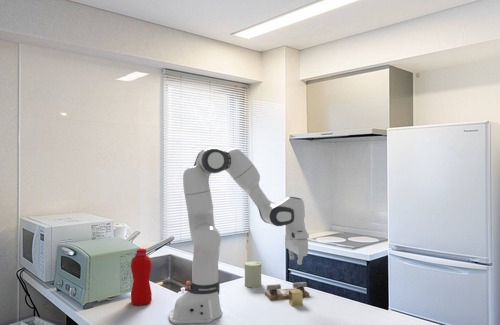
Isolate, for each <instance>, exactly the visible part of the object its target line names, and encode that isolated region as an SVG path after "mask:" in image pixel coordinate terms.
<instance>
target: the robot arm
mask: <svg viewBox="0 0 500 325" xmlns="http://www.w3.org/2000/svg"><path fill="white" fill-rule="evenodd" d="M193 164H194V165H193V166H190V167H188V168H186V169H185V170H184V172H183V175H182V182H183V183H182V184H183V193H184V198H185V199H184V200H185V204H186V210H187V217H188V218H187V219H188V225H189V226H188V227H189V232H190V238H191V240H192V242H193V256H192V265H191V266H192V269H191V270H192V273H191V274H192V275H191V277H192V279H191V280H192V281H190V280H187V281H186V282H185V286H186V287H187V290H186V292H185V293H183V294H182V295H181V296H179V297H178V298H177V299H176V301H175V304H174V308H173V309H171V310H170V311H169V313H168V319H169V321H170V322H171V324H172V323H173V324H175V325H176V324H177V325H178V324H183V325H185V324H209V323H212V322H213V321H214V320H216V319H219V318H220V317H221V316H222V314H223V311H222V307H221V303H220V291H221V290H220V289H221V288H220V284H221V283H220V281H219V260H220V250H221V242H222V239H221V238H222V237H221V233H220V231H219V230H218V229H217V228H216V226H215V219H214V218H215V217H214V216H215V215H214V204H213V200H212V193H211V188H210V180H209V179H210V176H211V175H212V174H218V173H220V172H223V171H225V172H227V173H228V174H229V176H230V177H231V178H232V180H234V182H235V183H236V184H237V185H238V187H240V188H241V189H242V190H243V191H244V192H245V193H247V195H248V196H249V197H250V198H251V200H252V202H253V203H254V204H255V206H256V207H257V209H258V212H259V216H260V219H261V220H262V221H263V222H264V223H265V224H269V225H270V224H271V226H272V225H273V226H274V227H283V226H285V237H284V246H285V249H288V254H289V259H290V260H292V261H294V260H295V254H296V256H297V260H296V264H297V265H300V266H301V265H302V264H303V259H304V257H307V256H308V253H309V251H308V249H309V241H308V240H309V237H310V234H309V232H308V231H307V230H306V224H305V217H306V213H305V212H306V210H305V203H304V200H303V199H302V198H300V197H296V196H287V197H286V198H285V199H283V201H281V202H279V203H275V202H272V201H271V200H269V198H268V197H267V195H266V194H265V193H264V191H263V190H262V189H261V187H260V180H261V175H260V173H259V171H258V169H257V167H256V166H255V165H254V163H253V162H252V161H251V159H249V157H248V156H247V155H246V154H245V153H243V152H242V150H240V149H239V148H235V147H234V148H230V149H229V150H227V151H226V150H223V149H220V148H219V147H207V148H204V149H202V150H200V151H199V152H198V154H197V156H196V157H195V161H194V163H193Z"/></svg>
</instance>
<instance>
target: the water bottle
mask: <svg viewBox="0 0 500 325" xmlns="http://www.w3.org/2000/svg"><path fill="white" fill-rule="evenodd" d="M129 266H130V271H131V275H132V279H133V282H132V287H131V292H130V302H131V305H133V306H141V305H142V306H145V305H149V304H150V303H151V302H152V300H153V299H152V294H153V293H152V288H151V283H150V276H151V272H152V271H151V270H152V266H153V265H152V260H151V258H150V256H148V255H147V248H137V250H136V253H135V254H134V257H132V259H131V260H130V262H129V264H128V266H127V268H129ZM127 273H128V269H127ZM126 277H127V278H129V276H128V275H126Z"/></svg>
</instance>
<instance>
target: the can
mask: <svg viewBox="0 0 500 325" xmlns="http://www.w3.org/2000/svg"><path fill="white" fill-rule="evenodd" d="M243 264H244V286H245V287H247V288H250V287H251V289H253V288H254V289H255V288H259V287H262V286H263V284H262V262H260V261H255V260H252V261H246V262H244V263H243Z"/></svg>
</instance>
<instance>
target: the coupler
mask: <svg viewBox="0 0 500 325" xmlns="http://www.w3.org/2000/svg"><path fill="white" fill-rule="evenodd" d="M303 298H304V297H303V292H302V291H301V290H300V289H294V290H289V298H288V303H289V304H290V305H291V306H292V307H295V306H296V307H298V306H304V305H303V304H304V303H303Z"/></svg>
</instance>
